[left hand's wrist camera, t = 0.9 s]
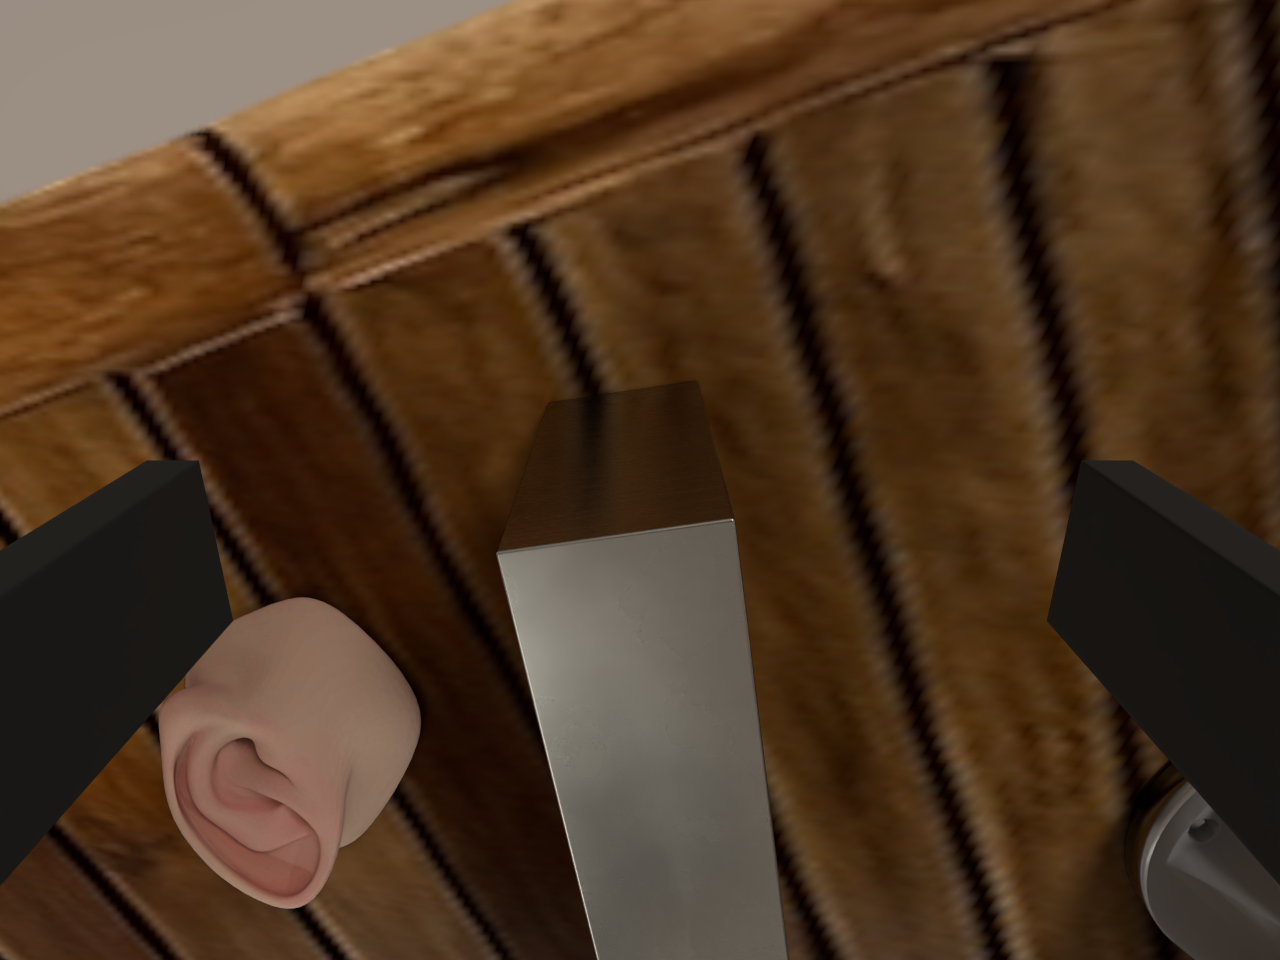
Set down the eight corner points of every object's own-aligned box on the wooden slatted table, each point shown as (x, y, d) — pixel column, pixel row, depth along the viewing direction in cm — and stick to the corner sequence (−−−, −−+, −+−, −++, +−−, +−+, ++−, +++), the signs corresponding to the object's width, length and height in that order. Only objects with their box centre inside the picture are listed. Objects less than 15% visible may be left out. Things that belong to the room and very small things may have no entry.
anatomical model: (213, 606, 31) (465, 759, 33) (259, 558, 34) (482, 698, 37) (63, 817, 34) (300, 938, 37) (119, 753, 38) (331, 867, 41)
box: (547, 402, 32) (494, 552, 20) (697, 379, 32) (735, 518, 20) (650, 899, 42) (655, 1197, 30) (764, 886, 42) (816, 1182, 30)
